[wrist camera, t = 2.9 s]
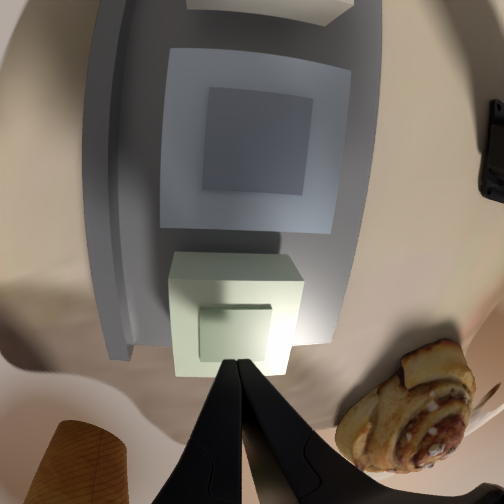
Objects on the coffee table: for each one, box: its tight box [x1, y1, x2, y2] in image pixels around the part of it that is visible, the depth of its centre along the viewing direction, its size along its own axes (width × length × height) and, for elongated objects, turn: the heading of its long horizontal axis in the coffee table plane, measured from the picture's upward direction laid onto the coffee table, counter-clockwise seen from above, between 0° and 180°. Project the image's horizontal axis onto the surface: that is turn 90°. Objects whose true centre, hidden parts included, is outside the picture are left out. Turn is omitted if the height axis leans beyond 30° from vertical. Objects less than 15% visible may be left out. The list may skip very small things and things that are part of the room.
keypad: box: [82, 0, 382, 361], centre depth 10 cm, size 11×19×2 cm, turn 175°
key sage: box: [168, 251, 305, 377], centre depth 11 cm, size 4×4×2 cm
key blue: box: [160, 48, 351, 234], centre depth 7 cm, size 4×4×2 cm
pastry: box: [335, 339, 476, 473], centre depth 18 cm, size 13×15×8 cm
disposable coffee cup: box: [23, 420, 129, 504], centre depth 13 cm, size 10×10×12 cm
